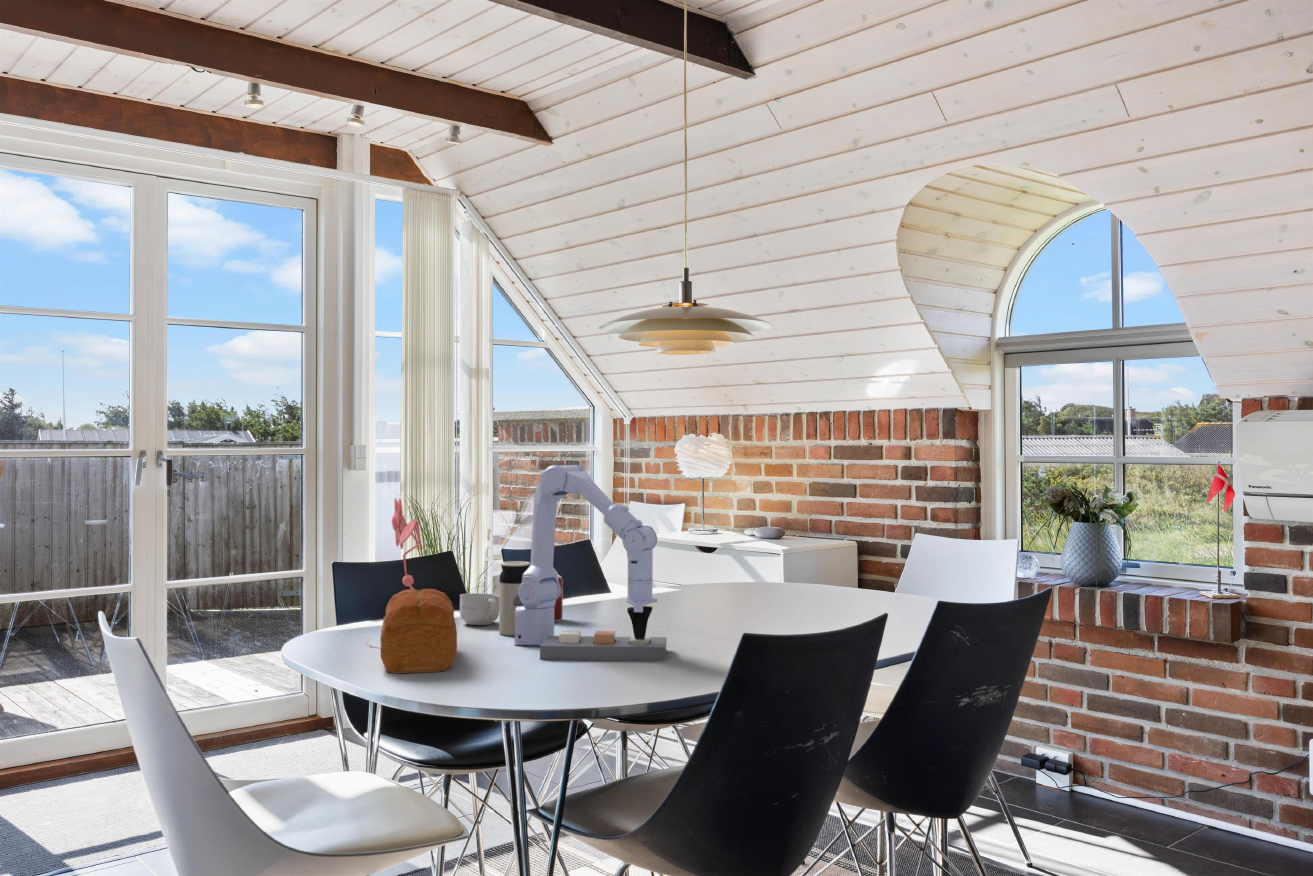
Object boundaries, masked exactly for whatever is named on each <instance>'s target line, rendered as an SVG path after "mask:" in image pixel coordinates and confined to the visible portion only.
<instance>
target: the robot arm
mask: <svg viewBox="0 0 1313 876" xmlns="http://www.w3.org/2000/svg"><path fill="white" fill-rule="evenodd" d="M569 494H577V495H580V496H582V497H583V498H584V499H585V500H586V501H588V502H589V503H590V504H591V505H592V506H594V508H596V509H597V510H598V511H599V512H600V513H602V514H603V522H604V524H606V525H607V527H609V529H611V531H613V532H614V533H615V534H616V535H617V536H618V538H620V539H621V540H622V541H621V542H622V546H623V548H624V549H625V551H626V558H627V598H626V603H627V604H629V605H630V607H628V608H627V610H626V611H627V614H628V616H629V618H630V620H631V621H630V622H631V624H632V631H633V637H635V639H644V638H645V637H646V633H647V628H648V627H647V626H648V621H649V618H650V616H651V613H652V611H653V606H650V605H651V604H653V603H658V598H657V597H656V598H655V597H653V579H654V578H653V574H654V573H653V567H654V566H653V560H654V559H653V558H654V557H653V551H654V550H653V549H654V548H655V547H656V546H657V543H658V536H657V533H656V531H655V530H654V528H653V527H652V526H650V525H643V521H642V520H639V519H638V518H636V517H635V516H634V515H633V514H632V513H631V512H630V511H629V510H630V508H629V507H628V506H627V505H622V504H621V503H618V504H614V503H613V501H612V500H611V499H610V498H609V497H608V495H606V493H605V492H603V491H602V489H601V488H600V487H599V486H598V485H597V484H596V482H594V481H593V479H592V478H591V476H590V473H588V472H587V471H585V470H584V469H583V468H582V466H580V465H579V464H570V465H557V464H556V465H555V464H552V465H550V466H548V467H546V468H545V469H544V470H543V471H542V472H540V481H539V482H538V485H537V487H536V489H535V491H534V496H533V498H534V499H533V514H532V530H531V531H532V533H531V550H530V561H529V563H530V565H529V568H528V569H527V570H526V571H525V573H524V574H523V577H522V583H521V585H520V587H519V590H518V595H519V599H520V601H521V602H522V603H523V606H517V607H516V611H515V636H514V643H513V645H514V646H540V645H541V644H542V643H543V641H544V640H545V639H546V637H547V636H555V622H554V605H555V601H556V600H557V599H558V597H559V595H560V585H559V582H558V576H559V573H558V571H557V570H556V569H555V567H554V558H555V556H554V553H555V538H556V537H555V536H556V522H557V521H556V519H557V507H558V506H557V504H558V502H559V501H560V500H562V499H563V498H564V497H566V496H567V495H569ZM648 605H649V606H648ZM631 606H632V607H631Z"/></svg>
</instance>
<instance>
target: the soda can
mask: <svg viewBox="0 0 1313 876" xmlns="http://www.w3.org/2000/svg"><path fill="white" fill-rule="evenodd" d="M558 582H559V585H560V595H559V597H558V599H557V600H556V601H555V605H554V623H557V622H561V621H562V620H563V617H564V615H563V607H564V605H563V604H564V602H563V600H564V599H563V597H564V594H563V593H564V591H563V588H564V587H563V586H564V585H563V583H564V580H563V577H562V576H561V575H558Z"/></svg>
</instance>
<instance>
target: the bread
mask: <svg viewBox="0 0 1313 876" xmlns="http://www.w3.org/2000/svg"><path fill="white" fill-rule="evenodd" d="M454 614H455V609H454V606H453V602H452V601H451V600H450V598H449V596H448V595H447V594H446V593H445V592H442V591H440V590H438V589H435V588H422V589H420V590H419V589H416V588H414V589H411V588H409V589H403V590H401V591H399V592H398V593H396V594H393V595H392V596H391V598H390V600H389V601H388V603H387V605H386V606H385V616H383V621H382V627H381V631H380V632H381V633H380V640H379V641H380V648H381V649H380V651H379V652H380V658H381V662H382V663H383V666H384V669H385V670H386V671H387V672H389V673H393V674H406V673H407V674H411V673H412V674H413V673H417V674H418V673H431V672H434V673H436V672H442V671H446V670H449V669H451V667H452V666H453V665H454V661H455V659H456V656H457V652H458V650H457V649H458V648H457V647H458V631H457V624H456V621H455V615H454Z"/></svg>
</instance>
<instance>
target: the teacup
mask: <svg viewBox="0 0 1313 876" xmlns="http://www.w3.org/2000/svg"><path fill="white" fill-rule="evenodd" d="M459 615H460V616H459V617H460V618H461V620H463V622H465V624H466V625H472V626H490V625H492V624H494V622H495V621H497V619H499V594H495V593H483V592H482V593H478V592H477V593H476V592H475V593H474V592H472V593H471V592H470V593H469V592H468V593H461V594H460V595H459Z"/></svg>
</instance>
